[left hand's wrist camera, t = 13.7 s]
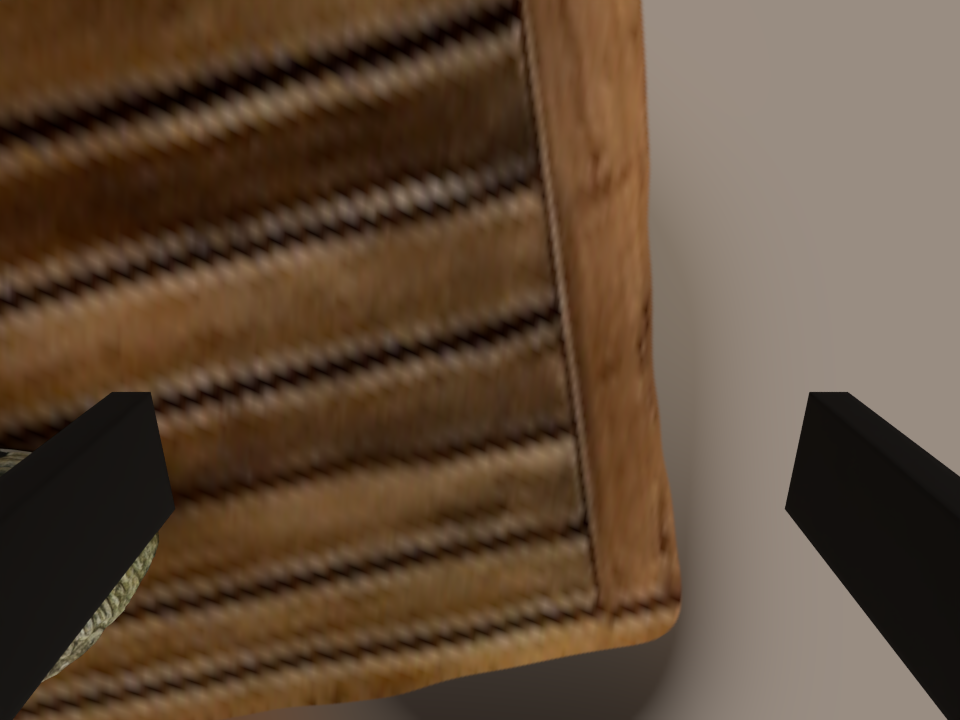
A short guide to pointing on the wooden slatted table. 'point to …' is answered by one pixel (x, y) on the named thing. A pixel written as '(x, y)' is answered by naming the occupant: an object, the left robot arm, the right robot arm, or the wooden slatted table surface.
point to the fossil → (116, 599)
